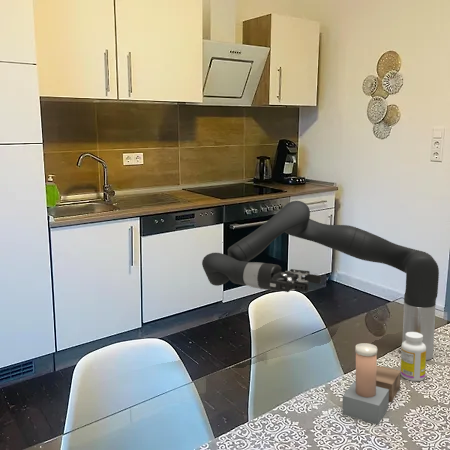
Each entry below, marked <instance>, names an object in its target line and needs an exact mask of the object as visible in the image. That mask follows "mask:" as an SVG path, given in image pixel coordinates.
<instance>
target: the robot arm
mask: <svg viewBox="0 0 450 450" xmlns="http://www.w3.org/2000/svg"><path fill="white" fill-rule="evenodd" d="M310 216H311V211H310V208H309V206H308V205H307V204H306V203H305V202H303V201H301V200H291V201H290V202H287V203H286V204H285V205H284V206H283V207H282V208H281V209H279V210H278V211H277V212H276V213H275V214H274V215H273V216H272V217H271V218H269V219H268V220H266V222H265V223H263V224H262V225H260V226H259V227H258V228H256V229H255V230H254V231H252V232H251V233H249V234H247V236H245V237H243V238H241V239H240V240H238V241H237V242H235V243H234V244H232V245H231V246H229V247H228V249H227V254H224V253H222V252H211V253H209V254H206V255H205V256H204V257H203V259H202V260H201V265H202V268H203V271H204V273H205V276H206V277H207V280H208V282H209V283H210V284H211V285H212V286H217V287H218V286H223V285H225V284H227V283H228V282H229V281H230V282H231V283H233V284H235V285H241V286H248V287H250V288H254V289H260V290H265V291H272V292H276V291H280V292H285V293H289V292H290V291H300V292H308V291H309V290H310V284H309V283H312V284H321V283H322V276H321V275H320V274H312V273H311V272H310V270H300V269H294V268H291V269H289V270H285V271H283V269H282V267H281V266H280V265H279V264H273V263H268V262H267V263H266V262H257V261H256V262H255V261H252V260H253V259H254V258H256V257H257V256H258V255H260V254H261V253H262V252H263V251H265V249H266V248H268V246H270V245H271V243H272V242H274V241H275V240H276V239H277V238H278V237H280V236H281V235H282V234H284V233H286V234H287V235H289V236H292V237H296V238H299V239H302V240H307V241H310V242H312V243H313V242H314V243H316V244H319V245H321V246H325V247H327V248H330V249H332V250H335V251H338V252H340V253H343V254H345V255H347V256H350V257H353V258H355V259H358V260H362V261H365V262H371V263H378V264H383V265H387V266H390V267H392V268H395V269H397V270H399V271H401V272H403V273H405V274H406V275H405V277H406V278H405V291H404V292H405V293H404V295H403V317H402V318H403V319H402V320H403V321H402V324H403V325H402V343H403V342H404V341H406V338H405V334H406V333H407V332H417V333H420V334H422V335H423V340H422V343H424V344H425V346H426V361H429V360H431V359H433V357H434V347H435V346H434V344H435V328H436V327H435V325H436V324H435V321H436V306H437V305H436V303H437V298H438V293H439V292H438V291H439V280H440V279H439V278H440V277H439V276H440V271H439V270H440V268H439V265H438V263H437V261H436V260H435V258H434V257H433V256H432V254H429V253H428V252H426V251H422V250H419V249H414V248H411V247H407V246H403V245H399V244H397V243H394V242H392V241H389V240H388V239H386V238H384V237H380V236H379V235H376V234H374V233H372V232H369V231H367V230H364V229H361V228H360V227H356V226H352V225H347V224H326V223H321V222H318V221H316V220H313V219H312V218H310ZM251 261H252V262H251Z"/></svg>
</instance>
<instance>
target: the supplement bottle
mask: <svg viewBox="0 0 450 450" xmlns="http://www.w3.org/2000/svg"><path fill="white" fill-rule="evenodd" d="M405 338H406V341H404V342H403V341H402V343H401V346H400V347H401V349H400V352H401V353H400V355H401V356H400V357H401V358H400V359H401V360H400V371H401V377H402V378H404V379H405V380H408V381H412V382H420V381H423V380H425V378H426V367H427V366H426V362H427V360H426V346H425V344H424V343H422V340H423V335H422V334H420V333H417V332H407V333H406V334H405Z"/></svg>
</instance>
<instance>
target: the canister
mask: <svg viewBox="0 0 450 450" xmlns="http://www.w3.org/2000/svg"><path fill="white" fill-rule="evenodd" d="M377 354H378V347H377V346H376V345H374V344H373V343H366V342H365V343H364V342H363V343H362V342H361V343H357V344H356V345H355V381H356V394H358V395H359V396H362V397H373V396H375V395H376V370H377V366H378V365H377V362H378V361H377V360H378V359H377V357H378V356H377Z"/></svg>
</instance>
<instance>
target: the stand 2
mask: <svg viewBox="0 0 450 450" xmlns="http://www.w3.org/2000/svg"><path fill="white" fill-rule="evenodd" d="M401 377H402V375H401V370H399V369H394V368H390V367H386V366H382V365H381V366H380V365H377V370H376V386H377V387H381V388H385V389H389V403H392V402H393V401H394V399H395V397H396V395H397V394H398V392H399V390H400V389H401Z"/></svg>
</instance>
